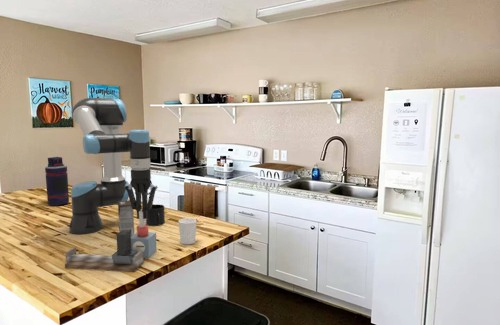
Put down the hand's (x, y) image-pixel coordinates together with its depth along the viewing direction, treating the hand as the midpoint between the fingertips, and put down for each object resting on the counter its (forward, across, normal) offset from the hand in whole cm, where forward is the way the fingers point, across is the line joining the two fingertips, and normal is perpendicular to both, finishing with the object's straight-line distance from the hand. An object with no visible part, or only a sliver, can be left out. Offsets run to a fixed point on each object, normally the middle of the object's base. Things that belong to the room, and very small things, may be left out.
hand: (142, 226), depth 139 cm
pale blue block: (+12, 0, 0) cm, 12 cm away
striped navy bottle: (+12, -87, +69) cm, 112 cm away
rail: (+12, -10, -12) cm, 20 cm away
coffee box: (+12, -17, +20) cm, 29 cm away
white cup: (+12, +14, +16) cm, 25 cm away
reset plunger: (+4, 0, 0) cm, 4 cm away
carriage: (+10, -2, -12) cm, 16 cm away
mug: (+12, -10, +39) cm, 42 cm away
